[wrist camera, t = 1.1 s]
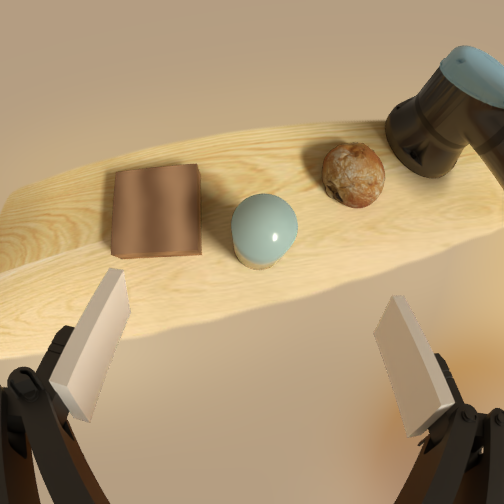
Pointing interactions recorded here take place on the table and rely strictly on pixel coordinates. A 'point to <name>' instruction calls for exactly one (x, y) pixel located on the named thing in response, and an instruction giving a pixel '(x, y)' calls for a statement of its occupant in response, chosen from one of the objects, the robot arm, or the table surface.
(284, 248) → the dome-topped cylinder
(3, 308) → the table surface
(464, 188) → the table surface
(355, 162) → the bread roll
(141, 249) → the pedestal
